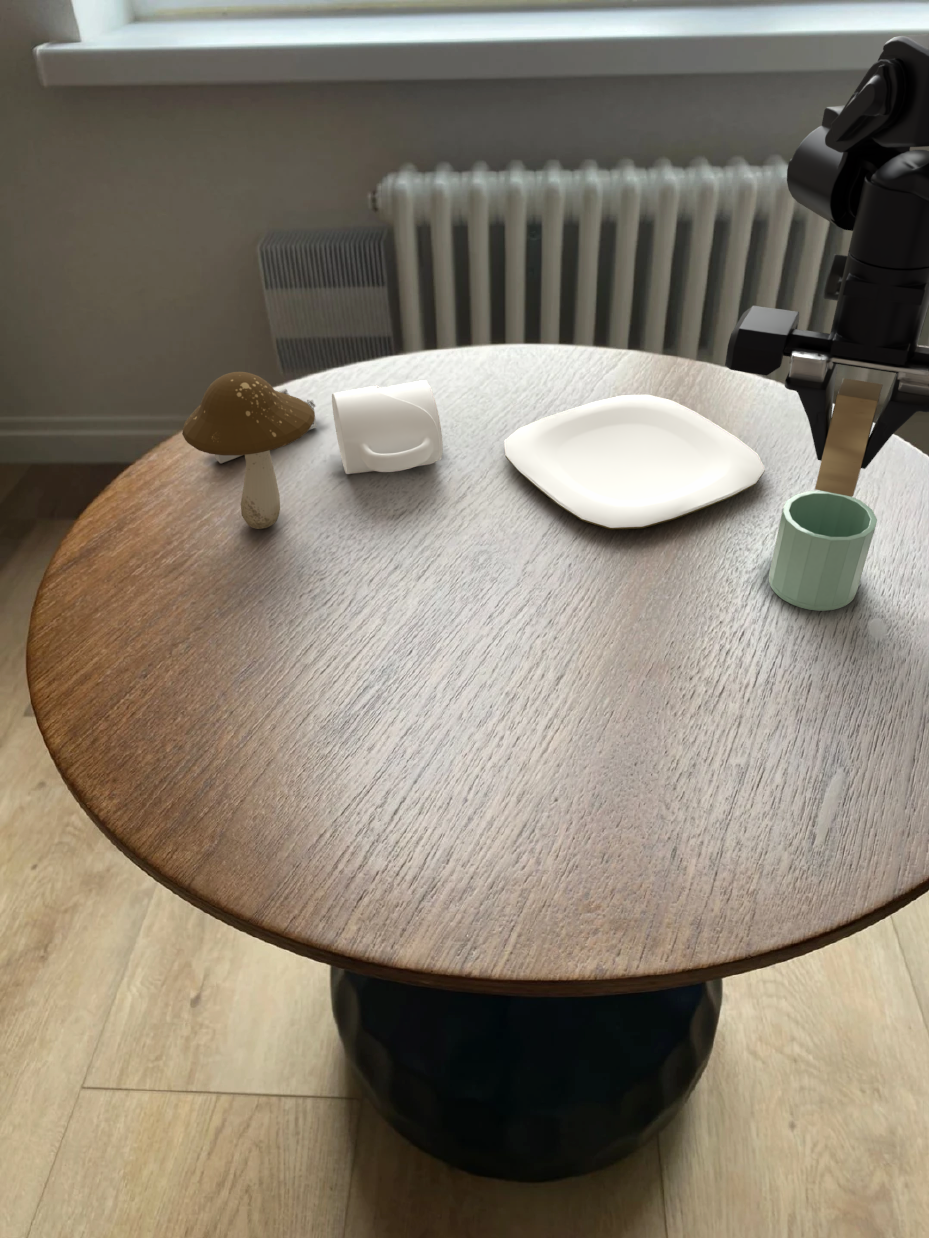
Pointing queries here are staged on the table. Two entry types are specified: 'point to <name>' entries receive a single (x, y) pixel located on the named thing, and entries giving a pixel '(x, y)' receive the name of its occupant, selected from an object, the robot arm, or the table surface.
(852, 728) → the table surface
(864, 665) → the table surface
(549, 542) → the table surface
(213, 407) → the mushroom
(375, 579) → the table surface
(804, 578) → the cup
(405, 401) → the mug
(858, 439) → the stick
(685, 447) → the plate
